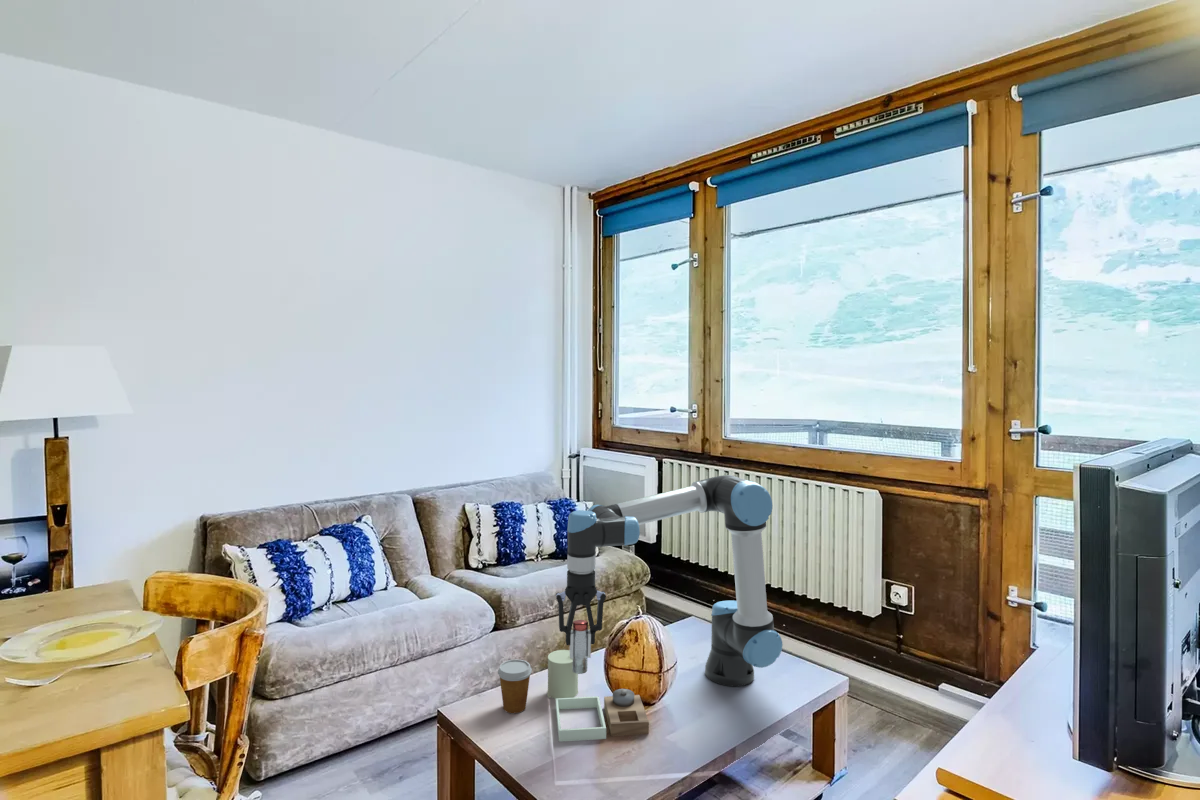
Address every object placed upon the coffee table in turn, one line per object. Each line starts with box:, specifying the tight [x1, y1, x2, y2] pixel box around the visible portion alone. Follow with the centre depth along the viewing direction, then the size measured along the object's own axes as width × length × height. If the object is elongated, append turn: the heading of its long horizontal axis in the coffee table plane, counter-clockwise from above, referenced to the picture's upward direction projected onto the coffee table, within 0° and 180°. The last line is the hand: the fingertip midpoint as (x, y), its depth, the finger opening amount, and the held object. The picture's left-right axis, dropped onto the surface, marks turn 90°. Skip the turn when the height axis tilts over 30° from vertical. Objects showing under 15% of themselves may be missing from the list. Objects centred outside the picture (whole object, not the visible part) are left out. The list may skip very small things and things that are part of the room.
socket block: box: [603, 688, 650, 737], centre depth 175 cm, size 14×10×7 cm
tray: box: [555, 695, 607, 742], centre depth 174 cm, size 16×12×4 cm
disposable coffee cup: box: [497, 658, 533, 714], centre depth 182 cm, size 10×10×12 cm
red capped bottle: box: [572, 619, 589, 675], centre depth 173 cm, size 4×4×13 cm
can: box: [546, 649, 579, 700], centre depth 190 cm, size 9×9×12 cm
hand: (580, 655), depth 173 cm, fingers closed on red capped bottle, 4 cm apart
